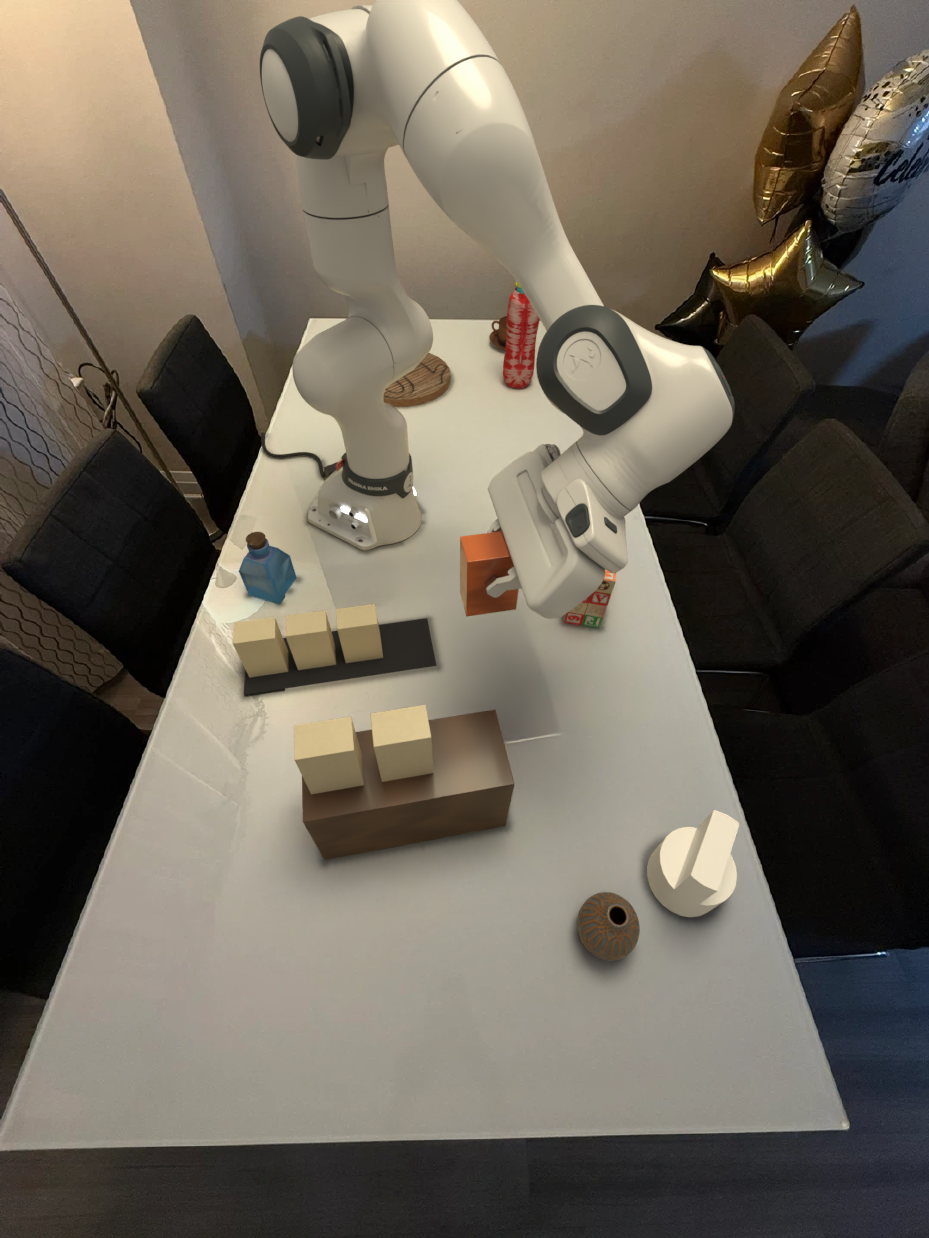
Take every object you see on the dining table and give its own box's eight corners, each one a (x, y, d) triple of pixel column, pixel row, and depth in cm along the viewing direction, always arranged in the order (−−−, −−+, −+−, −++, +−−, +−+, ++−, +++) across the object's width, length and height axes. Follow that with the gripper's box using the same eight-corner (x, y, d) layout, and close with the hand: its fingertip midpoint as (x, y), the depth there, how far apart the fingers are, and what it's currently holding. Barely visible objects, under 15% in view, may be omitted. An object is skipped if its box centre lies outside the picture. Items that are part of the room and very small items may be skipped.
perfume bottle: (297, 579, 105) (282, 530, 95) (279, 604, 101) (262, 555, 92) (267, 571, 106) (249, 521, 97) (248, 595, 102) (228, 546, 93)
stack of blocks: (573, 539, 113) (585, 488, 103) (606, 544, 112) (620, 493, 102) (563, 623, 100) (575, 574, 90) (600, 629, 99) (616, 580, 89)
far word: (244, 696, 89) (225, 661, 82) (247, 645, 96) (229, 607, 88) (436, 667, 93) (435, 631, 86) (427, 620, 100) (425, 582, 92)
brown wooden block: (324, 860, 74) (284, 789, 57) (321, 787, 81) (284, 702, 63) (505, 825, 78) (522, 748, 60) (489, 757, 84) (500, 669, 66)
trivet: (408, 346, 160) (408, 339, 158) (470, 382, 148) (470, 375, 147) (333, 377, 149) (331, 370, 147) (393, 418, 137) (392, 411, 136)
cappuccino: (486, 352, 158) (487, 329, 153) (492, 332, 165) (493, 309, 160) (530, 357, 157) (532, 334, 152) (534, 336, 164) (536, 313, 159)
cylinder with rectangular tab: (706, 932, 70) (745, 909, 61) (636, 890, 73) (663, 861, 64) (727, 866, 75) (767, 835, 66) (661, 829, 78) (689, 794, 68)
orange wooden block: (466, 616, 67) (467, 562, 60) (459, 591, 70) (460, 536, 63) (516, 609, 68) (522, 554, 61) (508, 585, 71) (513, 529, 64)
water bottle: (501, 368, 153) (508, 263, 134) (531, 369, 153) (543, 265, 134) (500, 392, 146) (508, 285, 126) (532, 393, 145) (545, 287, 126)
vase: (568, 903, 72) (580, 884, 65) (622, 898, 72) (640, 879, 65) (579, 967, 68) (594, 954, 61) (637, 961, 68) (658, 948, 61)
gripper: (535, 420, 63) (448, 501, 70) (597, 549, 51) (484, 634, 57) (568, 451, 67) (483, 525, 74) (634, 577, 55) (524, 654, 61)
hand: (484, 573), depth 65 cm, fingers closed on orange wooden block, 4 cm apart
